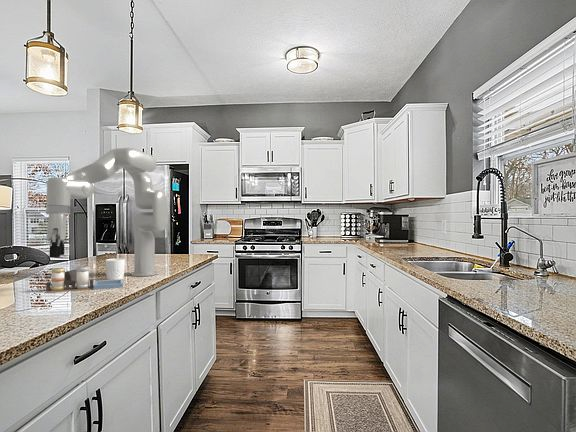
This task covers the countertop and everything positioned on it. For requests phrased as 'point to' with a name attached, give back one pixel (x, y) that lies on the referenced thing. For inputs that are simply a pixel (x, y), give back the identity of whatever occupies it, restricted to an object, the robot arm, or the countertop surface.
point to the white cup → (115, 268)
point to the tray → (108, 284)
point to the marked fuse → (57, 279)
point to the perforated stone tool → (70, 276)
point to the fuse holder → (67, 288)
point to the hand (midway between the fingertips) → (57, 256)
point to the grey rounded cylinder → (82, 277)
